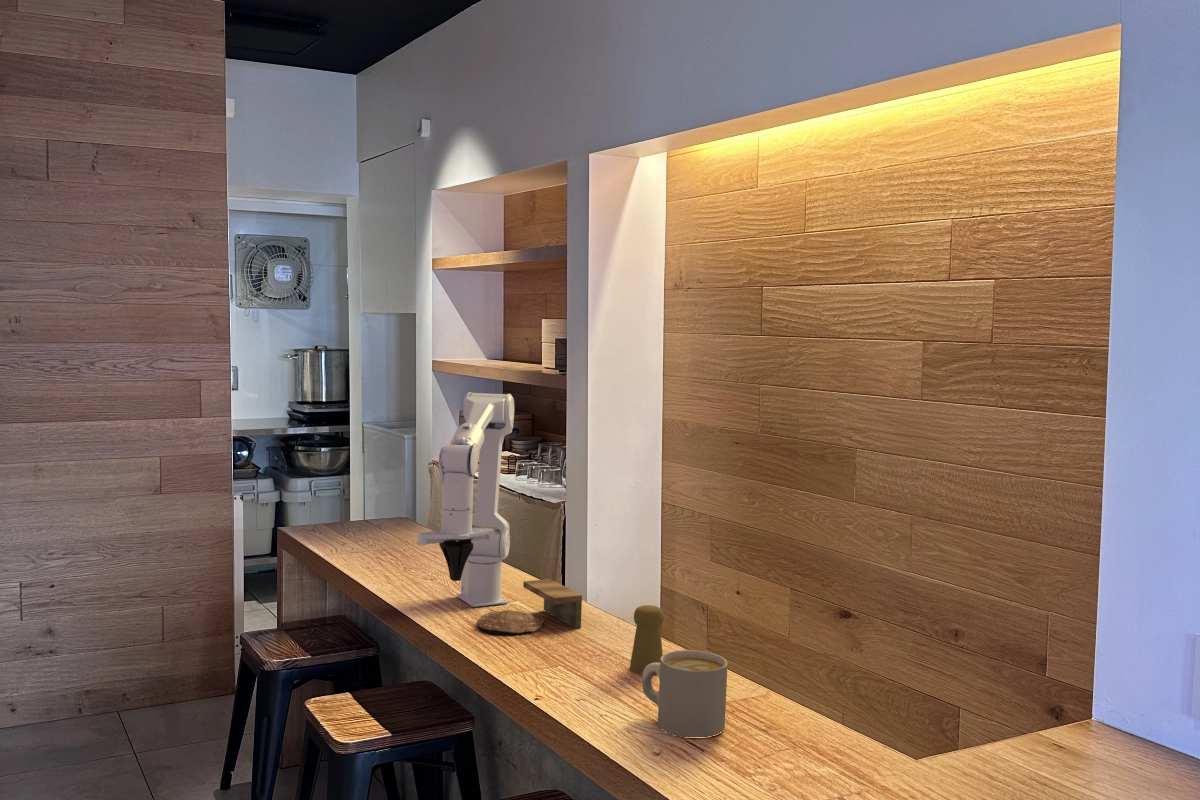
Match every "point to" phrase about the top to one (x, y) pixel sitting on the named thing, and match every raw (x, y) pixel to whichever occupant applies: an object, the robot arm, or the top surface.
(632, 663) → the olive pepper mill
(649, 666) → the coffee mug
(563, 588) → the walnut shelf
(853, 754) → the top surface
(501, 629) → the shell
